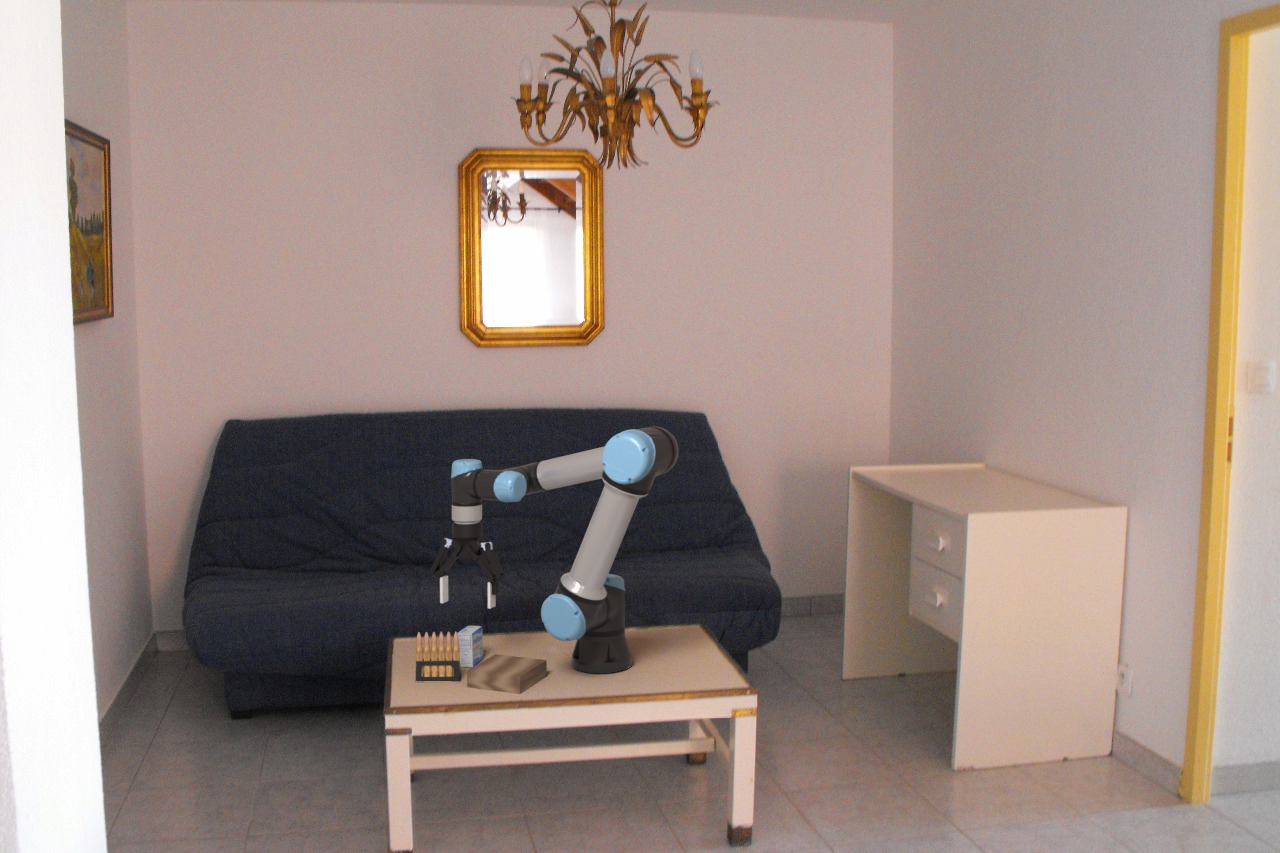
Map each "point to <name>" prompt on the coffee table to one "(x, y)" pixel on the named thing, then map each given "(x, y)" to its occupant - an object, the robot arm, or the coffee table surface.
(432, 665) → the ammunition clip
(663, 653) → the coffee table surface
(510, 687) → the walnut base
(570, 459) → the robot arm
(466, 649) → the medicine box
